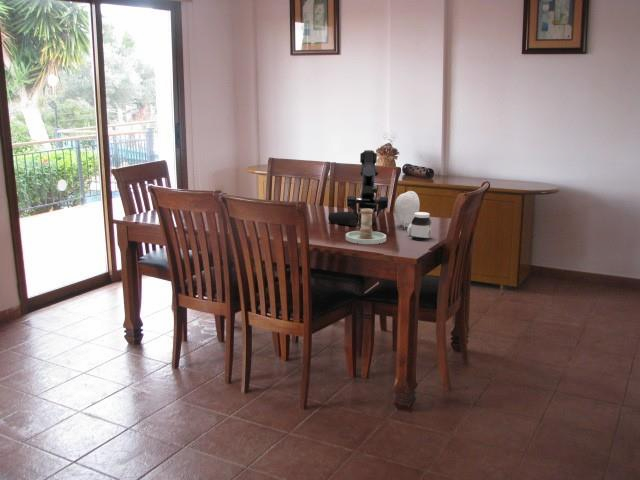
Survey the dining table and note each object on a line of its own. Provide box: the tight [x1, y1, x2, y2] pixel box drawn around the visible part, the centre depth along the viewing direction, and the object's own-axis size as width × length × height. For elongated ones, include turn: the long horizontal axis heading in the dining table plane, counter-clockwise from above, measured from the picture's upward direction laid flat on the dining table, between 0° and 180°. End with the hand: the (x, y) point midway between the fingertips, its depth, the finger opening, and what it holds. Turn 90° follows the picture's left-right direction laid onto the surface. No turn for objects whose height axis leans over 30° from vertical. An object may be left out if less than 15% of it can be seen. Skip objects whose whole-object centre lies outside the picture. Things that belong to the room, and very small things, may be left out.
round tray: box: [345, 230, 387, 245], centre depth 317 cm, size 18×18×2 cm
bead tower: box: [359, 208, 374, 239], centre depth 316 cm, size 6×6×13 cm
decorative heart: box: [394, 190, 421, 230], centre depth 342 cm, size 18×11×17 cm, turn 153°
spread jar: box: [406, 211, 432, 241], centre depth 322 cm, size 12×11×12 cm
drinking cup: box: [328, 210, 361, 227], centre depth 345 cm, size 8×8×20 cm
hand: (366, 217), depth 322 cm, fingers open, 9 cm apart
